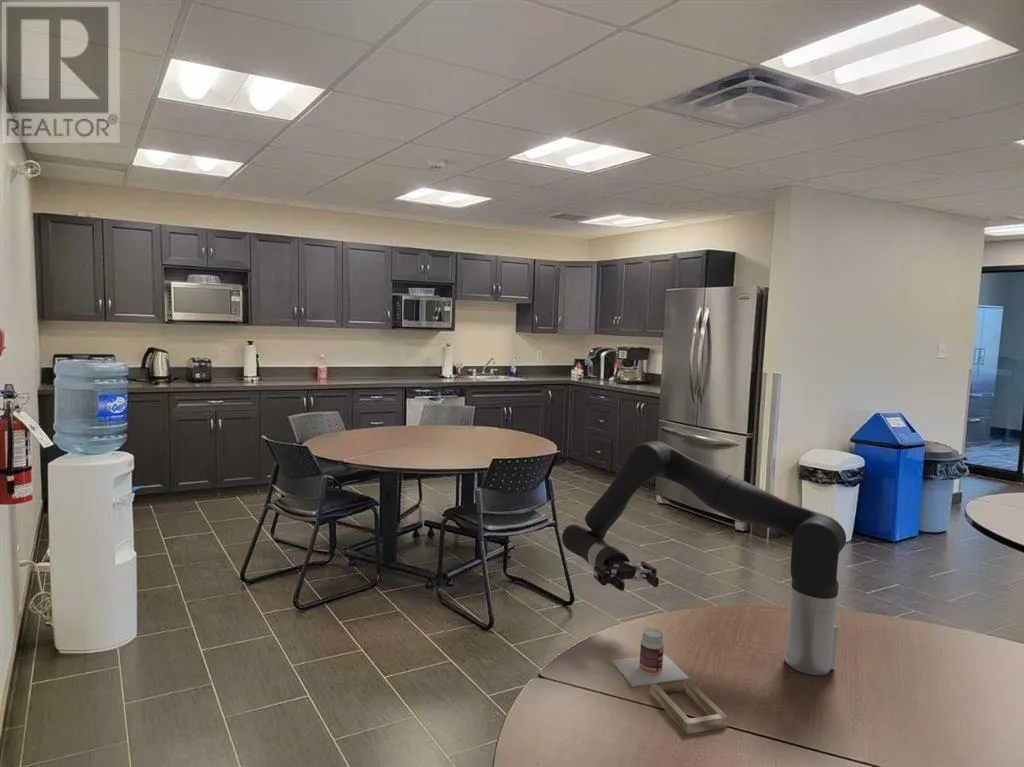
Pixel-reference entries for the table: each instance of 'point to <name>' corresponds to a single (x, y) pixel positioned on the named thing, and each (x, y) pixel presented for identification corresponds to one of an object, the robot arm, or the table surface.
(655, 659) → the pill bottle
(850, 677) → the table surface
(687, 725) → the wooden rectangular frame
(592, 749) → the table surface
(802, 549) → the robot arm
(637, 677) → the mat
